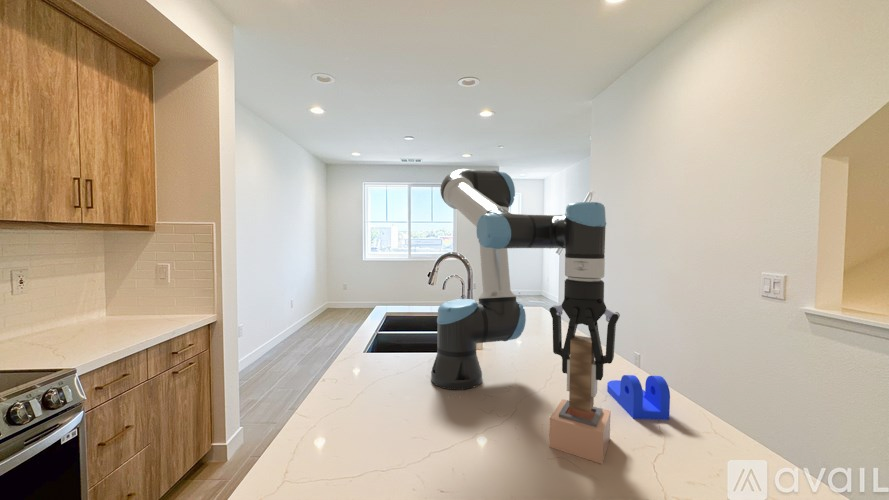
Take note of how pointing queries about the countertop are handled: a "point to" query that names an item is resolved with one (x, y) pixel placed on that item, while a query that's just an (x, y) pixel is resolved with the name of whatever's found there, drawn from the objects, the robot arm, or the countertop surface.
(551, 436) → the peach square socket block
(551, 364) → the countertop surface
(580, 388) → the tall wooden block
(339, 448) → the countertop surface
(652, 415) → the bracket
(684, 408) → the countertop surface
